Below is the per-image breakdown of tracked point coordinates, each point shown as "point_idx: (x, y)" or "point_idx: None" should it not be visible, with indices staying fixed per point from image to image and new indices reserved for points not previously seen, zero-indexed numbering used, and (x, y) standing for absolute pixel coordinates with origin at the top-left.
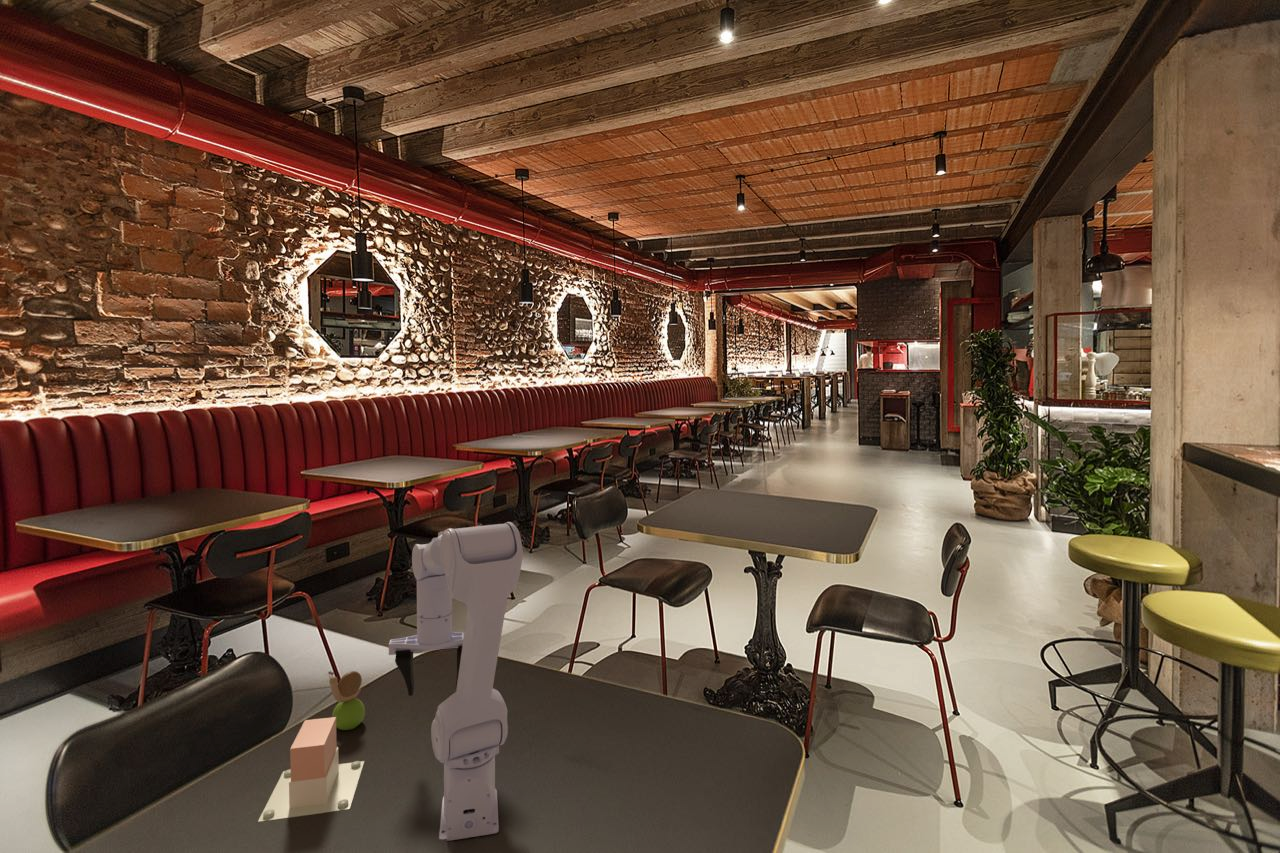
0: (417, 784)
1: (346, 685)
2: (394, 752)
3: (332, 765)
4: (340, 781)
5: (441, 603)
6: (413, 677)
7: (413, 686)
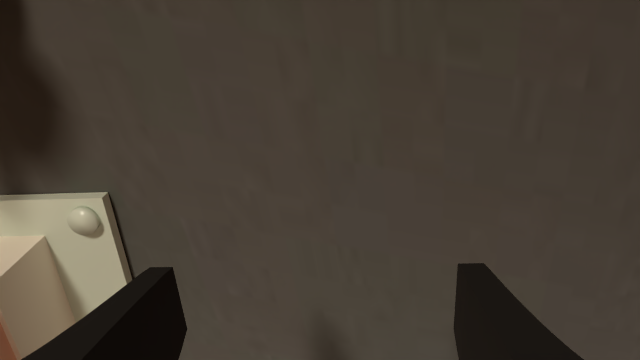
0: (304, 310)
1: None
2: (185, 138)
3: (28, 349)
4: (77, 282)
5: None
6: (132, 316)
7: (165, 318)
